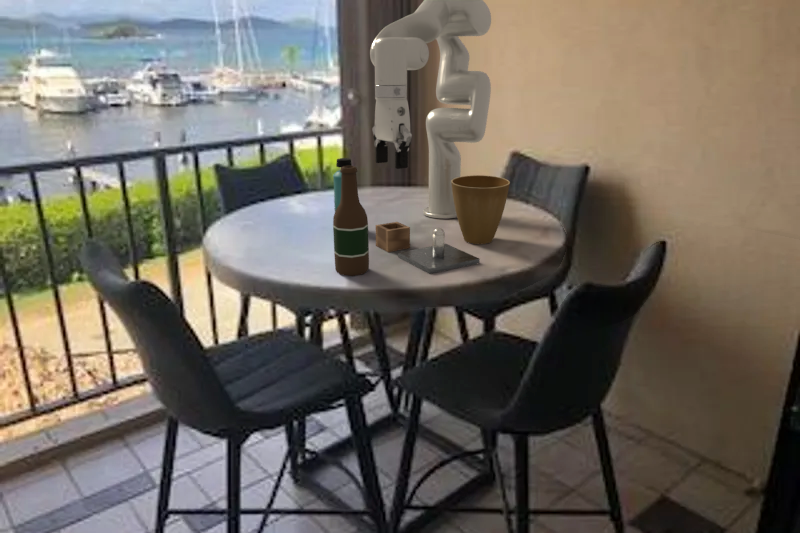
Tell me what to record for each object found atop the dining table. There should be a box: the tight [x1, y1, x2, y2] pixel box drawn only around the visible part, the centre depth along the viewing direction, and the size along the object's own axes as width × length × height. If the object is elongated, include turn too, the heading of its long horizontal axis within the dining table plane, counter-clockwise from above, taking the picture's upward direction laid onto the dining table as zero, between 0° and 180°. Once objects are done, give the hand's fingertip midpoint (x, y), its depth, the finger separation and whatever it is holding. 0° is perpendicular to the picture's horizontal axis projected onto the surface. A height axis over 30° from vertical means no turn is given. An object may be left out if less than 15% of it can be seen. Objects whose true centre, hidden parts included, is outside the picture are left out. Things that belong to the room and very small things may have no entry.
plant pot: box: [451, 174, 511, 245], centre depth 163 cm, size 15×15×16 cm
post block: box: [397, 227, 481, 275], centre depth 149 cm, size 14×14×8 cm
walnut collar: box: [375, 221, 411, 253], centre depth 160 cm, size 6×6×6 cm
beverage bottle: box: [332, 157, 353, 212], centre depth 173 cm, size 6×7×20 cm
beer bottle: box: [332, 165, 370, 277], centre depth 140 cm, size 8×8×24 cm
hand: (391, 165), depth 154 cm, fingers open, 9 cm apart
